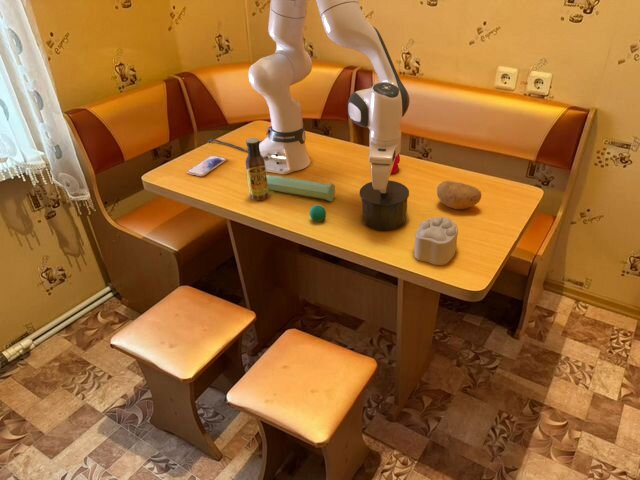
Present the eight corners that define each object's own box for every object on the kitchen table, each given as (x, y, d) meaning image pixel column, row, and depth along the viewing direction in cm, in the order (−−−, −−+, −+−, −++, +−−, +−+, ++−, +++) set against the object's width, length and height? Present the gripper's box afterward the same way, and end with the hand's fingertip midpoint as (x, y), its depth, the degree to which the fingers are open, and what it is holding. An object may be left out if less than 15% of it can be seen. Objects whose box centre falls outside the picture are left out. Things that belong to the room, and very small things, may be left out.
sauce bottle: (253, 203, 162) (243, 146, 150) (248, 194, 167) (238, 138, 154) (272, 198, 164) (264, 142, 152) (266, 190, 169) (258, 134, 156)
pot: (358, 229, 149) (357, 204, 144) (366, 205, 160) (366, 182, 154) (403, 233, 147) (404, 208, 142) (408, 209, 157) (409, 185, 152)
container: (260, 173, 165) (328, 184, 158) (269, 172, 171) (335, 183, 163) (259, 191, 167) (326, 202, 159) (268, 189, 172) (334, 200, 165)
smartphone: (226, 158, 187) (202, 175, 176) (227, 160, 188) (202, 177, 177) (211, 154, 189) (186, 171, 179) (211, 157, 190) (186, 173, 179)
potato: (475, 218, 152) (479, 195, 147) (431, 209, 157) (433, 187, 152) (482, 203, 159) (486, 181, 154) (440, 195, 164) (442, 173, 159)
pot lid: (355, 205, 144) (354, 190, 140) (364, 181, 155) (364, 166, 152) (406, 210, 141) (406, 194, 138) (411, 185, 153) (412, 170, 149)
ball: (308, 223, 152) (307, 209, 149) (312, 215, 156) (311, 201, 152) (324, 225, 151) (323, 211, 148) (328, 216, 155) (327, 202, 152)
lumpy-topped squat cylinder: (410, 257, 137) (411, 231, 132) (427, 234, 146) (430, 208, 141) (445, 267, 133) (448, 241, 128) (461, 243, 142) (465, 217, 137)
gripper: (379, 129, 147) (379, 172, 155) (367, 159, 131) (367, 205, 140) (401, 131, 146) (399, 173, 154) (391, 161, 130) (390, 207, 139)
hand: (384, 188), depth 147 cm, fingers closed on pot lid, 2 cm apart
